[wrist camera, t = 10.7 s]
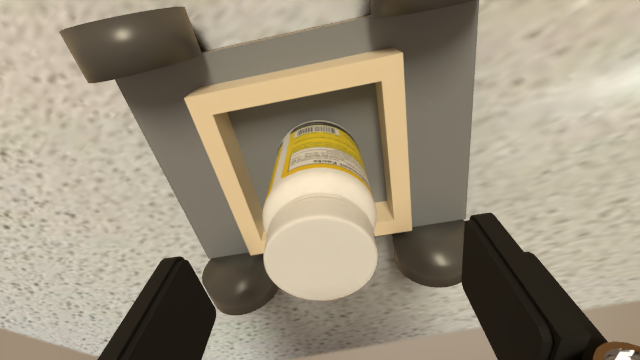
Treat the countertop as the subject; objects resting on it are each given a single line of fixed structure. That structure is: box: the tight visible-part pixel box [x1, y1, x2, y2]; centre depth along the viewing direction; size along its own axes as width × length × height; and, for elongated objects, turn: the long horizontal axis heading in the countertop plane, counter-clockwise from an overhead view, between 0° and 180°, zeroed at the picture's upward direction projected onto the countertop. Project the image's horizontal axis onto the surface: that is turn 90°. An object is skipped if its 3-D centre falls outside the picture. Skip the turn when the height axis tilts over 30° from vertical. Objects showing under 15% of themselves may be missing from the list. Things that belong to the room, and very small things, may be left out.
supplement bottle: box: [262, 120, 378, 301], centre depth 14 cm, size 5×5×8 cm
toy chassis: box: [59, 0, 479, 315], centre depth 17 cm, size 18×17×5 cm
